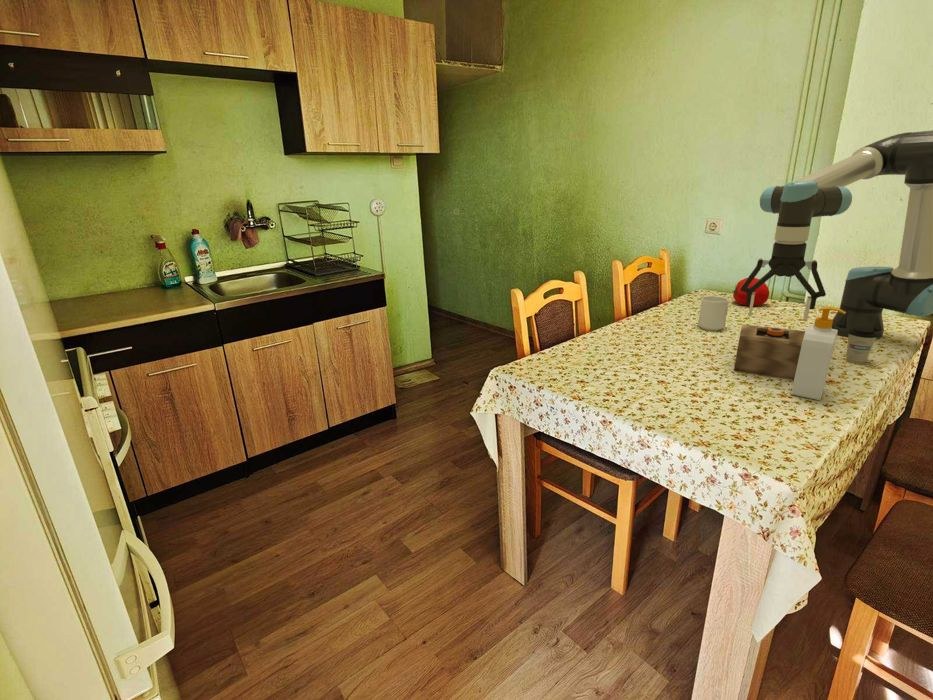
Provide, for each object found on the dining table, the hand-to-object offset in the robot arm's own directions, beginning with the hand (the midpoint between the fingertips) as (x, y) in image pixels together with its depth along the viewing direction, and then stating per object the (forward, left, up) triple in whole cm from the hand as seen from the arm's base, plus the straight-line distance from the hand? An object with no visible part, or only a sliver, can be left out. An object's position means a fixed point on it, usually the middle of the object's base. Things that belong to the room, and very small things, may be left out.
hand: (776, 317), depth 138 cm
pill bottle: (0, 0, -15) cm, 15 cm away
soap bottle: (-10, +14, -16) cm, 23 cm away
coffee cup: (-23, -18, -16) cm, 33 cm away
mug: (+18, -37, -16) cm, 44 cm away
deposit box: (0, 0, -15) cm, 15 cm away
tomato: (+8, -78, -16) cm, 80 cm away
